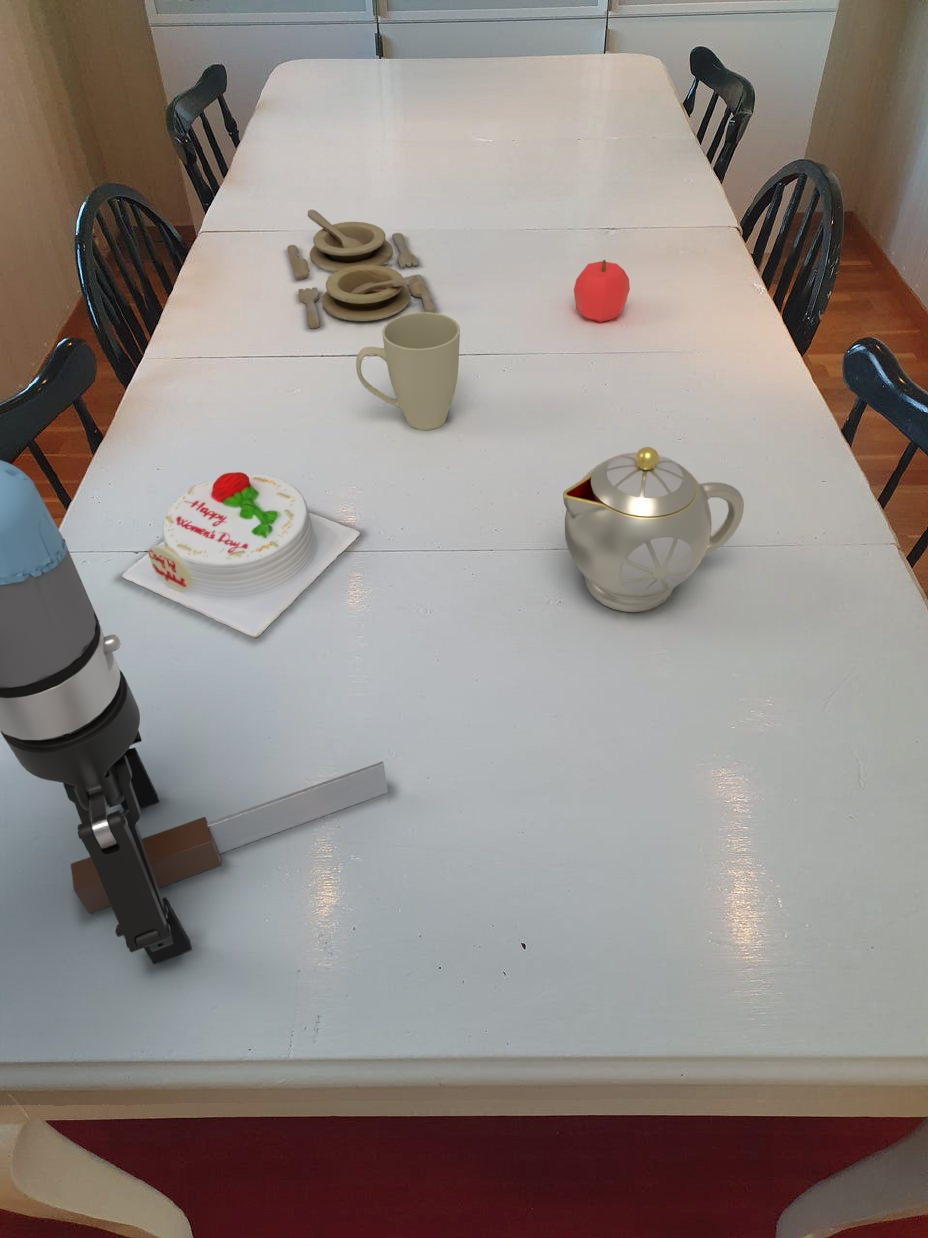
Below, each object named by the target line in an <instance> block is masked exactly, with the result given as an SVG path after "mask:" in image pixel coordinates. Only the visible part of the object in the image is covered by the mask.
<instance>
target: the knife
mask: <svg viewBox="0 0 928 1238" xmlns="http://www.w3.org/2000/svg"><path fill="white" fill-rule="evenodd" d="M388 793H389V789H388V783H387V777H386V769H385V763H384V761H383V760H382V761H379V762H377V763H374V764H371V765H368V766H365V767H362V768H360V769H357V770H355V771H352V772H348V773H345V774H343V775H340V776H338V777H334V778H332V779H329V780H325V781H323V782H320V783H317V784H314V785H312V786H309V787H306V788H303V789H300V790H298V791H295V792H292V793H289V794H286V795H284V796H280V797H278V798H275V799H272V800H269V801H267V802H263V803H261V804H258V805H255V806H252V807H249V808H247V809H244V810H241V811H239V812H235V813H233V814H230V815H227V816H225V817H221V818H219V819H215V820H213V821H210V822H209V821H208V819H207V817H206V816H202V817H200V818H197V819H194V820H191V821H188V822H185V823H183V824H180V825H177V826H174V827H171V828H169V829H166V830H163V831H160V832H157V833H154V834H151V835H148V836H146V837H143V838H142V841H143V844H144V846H145V849H146V852H147V855H148V858H149V861H150V864H151V867H152V870H153V873H154V876H155V878H156V881H157V884H158V887H159V889H160V888H163V887H167V886H169V885H171V884H173V883H176V882H180V881H182V880H185V879H188V878H190V877H194V876H196V875H198V874H201V873H205V872H206V871H210V870H212V869H215V868H217V867H220V866H222V860H221V857H220V855H221V854H223V853H226V852H229V851H231V850H234V849H237V848H241V847H242V846H246V845H247V844H250V843H253V842H256V841H258V840H259V841H260V840H263V839H264V838H267V837H269V836H273V835H276V834H279V833H281V832H283V831H286V830H289V829H292V828H295V827H298V826H300V825H303V824H306V823H308V822H311V821H313V820H317V819H319V818H322V817H324V816H328V815H330V814H333V813H336V812H339V811H341V810H344V809H347V808H350V807H352V806H355V805H358V804H361V803H364V802H367V801H369V800H371V799H374V798H377V797H380V796H383V795H385V794H388ZM70 872H71V873H70V874H71V879H72V880H71V881H72V888H73V892H74V893H75V895H76V896H77V898H78V899H79V901H80V902H81V905H83V907H84V908H85V910H86V912H87V913H88V914H93V913H95V912H99V911H100V910H103V909H106V908H108V907H112V906H111V904H110V901H109V899H108V897H107V894H106V892H105V889H104V887H103V885H102V882H101V880H100V877H99V875H98V872H97V870H96V868H95V865H94V863H93V860H92V858H91V856H89V857H86V858H83V859H80V860H78V861H75V862H72V863H70Z"/></svg>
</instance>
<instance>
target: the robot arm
mask: <svg viewBox="0 0 928 1238" xmlns="http://www.w3.org/2000/svg"><path fill="white" fill-rule="evenodd" d="M80 576H81V575H80V574H79V572H78V570H77V567H76V565H75V562H74V560H73V557H72V555H71V553H70V551H69V548H68V545H67V541H66V539H65V538H64V537H63V535H62V533H61V532H60V530H59V528H58V526H57V524H56V522H55V520H54V518H53V517H52V514H51V513H50V511H49V509H48V507H47V505H46V503H45V501H44V499H43V498H42V496H41V494H40V491H39V490H38V488H37V486H36V484H35V482H34V481H33V480H32V479H31V478H30V477H29V476H28V475H27V474H26V473H25V472H24V471H23V470H21V469H20V468H18V467H17V466H16V465H13V464H12V463H10V462H7V461H4V460H1V459H0V734H1V735H2V738H3V739H4V740H5V742H6V743H7V745H8V747H9V749H10V750H11V752H12V753H13V755H14V756H15V757H16V759H17V761H18V762H19V764H20V765H21V766H22V768H24V770H25V771H27V772H28V773H29V774H31V775H33V776H34V777H37V778H39V779H41V780H45V781H50V782H57V783H62V784H63V787H64V790H65V793H66V796H67V798H68V800H69V801H70V802H71V803H73V804H74V806H75V808H76V813H77V814H78V817H79V820H80V823H79V824H78V825H77V836H78V838H79V840H81V842H82V843H83V844H82V845H84V847H85V849H86V851H87V853H88V855H89V857H91V858H92V860H93V863H94V865H95V868H96V870H97V872H98V875H99V877H100V880H101V882H102V885H103V887H104V889H105V892H106V894H107V897H108V899H109V901H110V904H111V906H110V907H111V908H112V911H113V914H114V915H115V916H114V917H115V918H116V920H117V923H118V924H116V925H115V926H116V927H115V935H116V936H117V938H121V937H124V940H125V944H126V948H127V949H128V951H129V952H130V953H135V952H137V951H140V950H144V952H145V953H146V955H147V956H148V958H149V959H150V961H151V962H152V965H156V964H159V963H161V962H164V961H166V960H168V959H171V958H174V957H176V956H179V955H181V954H184V953H187V952H189V951H191V950H193V948H192V944H191V940H190V938H189V936H188V934H187V932H186V931H185V929H184V927H183V925H182V924H181V921H180V920H179V918H178V916H177V914H176V913H175V910H174V909H173V907H172V905H171V903H170V901H169V899H168V897H167V896H165V897H163V896H162V893H161V889H160V888H159V887H158V884H157V881H156V878H155V876H154V873H153V870H152V867H151V864H150V861H149V858H148V855H147V852H146V849H145V846H144V844H143V841H142V839H143V838H142V836H141V832H140V829H139V825H138V822H139V820H140V818H141V813H142V811H141V809H143V808H146V807H149V806H151V805H154V804H157V803H159V802H160V799H159V795H158V792H157V790H156V788H155V786H154V784H153V782H152V780H151V778H150V775H149V773H148V771H147V769H146V767H145V765H144V763H143V761H142V759H141V757H140V755H139V753H138V751H137V749H136V747H135V746H134V747H131V746H133V745H135V744H138V743H141V742H142V741H143V740H142V737H141V736H142V735H141V733H140V730H139V729H140V723H141V713H140V708H139V705H138V704H137V700H136V699H135V696H134V695H133V692H132V691H131V688H130V685H129V683H128V681H127V679H126V677H125V675H124V673H123V672H122V670H121V669H120V666H119V664H118V662H117V659H116V656H115V655H114V652H116V651H117V650H119V649H120V648H121V644H122V643H121V640H120V638H119V636H117V635H116V634H114V633H113V634H108V635H106V636H104V631H103V628H102V626H101V624H100V620H99V618H98V616H97V613H96V612H95V611H96V610H95V609H94V606H93V604H92V601H91V599H90V597H89V595H88V593H87V591H86V588H85V585H84V583H83V581H82V579H81V577H80ZM119 805H120V806H121V808H122V810H123V811H121V810H120V809H119V810H116V811H113V812H112V811H111V808H114V807H116V806H119Z"/></svg>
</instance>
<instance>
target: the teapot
mask: <svg viewBox="0 0 928 1238" xmlns="http://www.w3.org/2000/svg"><path fill="white" fill-rule="evenodd" d="M711 498H719V499H721V500H723V501H725V503H726V504H727V508H728V510H727V514H726V517H725V518H724V521H723V522H722V524H721V525H720V527H719V528H717V530H715V531H714V533H712V512H711V507H710V503H709V499H711ZM562 499H563V504H564V506H565V508H566V510H565V516H564V536H565V543H566V546H567V550H568V552H569V554H570V557H571V560H572V561H573V563H574V564H575V566H576V568H577V569H578V570H579V571H580V573H582V575H583V576H584V582H585V586H586V588H587V590H588V592H589V593H590V594H591V596H592V597H593V598H594V599H595V600H596V601H598V602H599V603H600V604H602V605H604V606H605V607H608V608H609V609H612V610H616V611H621V612H626V613H640V612H646V611H650V610H653V609H655V608H657V607H659V606H660V605H662V604H663V603H664V602H666V601H667V600H668V599H669V597H670V596H671V595H672V592H673V590H674V588H676V587H677V586H679V585H680V584H682V583H683V582H684V581H685V580H687V579H688V578H689V577H690V576H691V575H692V574H693V573H694V572H695V570H697V568H698V566H699V565H700V564H701V562H702V560H703V559H704V557H705V556H707V555H710V554H712V553H713V552H715V551H717V550H718V549H720V548H721V547H723V546H724V545H725V544H726V543H727V542H728V541H729V540H730V539H731V538H732V537H733V536H734V534H735V533H736V532H737V530H738V528H739V526H740V524H741V523H742V519H743V515H744V510H745V504H744V503H745V502H744V497H743V495H742V494H741V492H740V491H739V490H738V489H737V487H735V486H733V485H730V484H727V483H724V482H720V481H719V482H718V481H708V482H702V483H700V482H699V481H698V480H697V478H696V477H695V476H694V475H693V474H692V473H691V472H690V471H689V470H688V469H687V468H685V467H684V466H683V465H681V464H680V463H678V462H677V461H675V460H673V459H671V458H669V457H666V456H664V455H660V454H659V453H658V452H657V450H656V449H655V448H653V447H651V446H644V447H641V448H640V449H639V450H637V452H627V453H623V454H619V455H615V456H613V457H610V458H608V459H606V460H604V461H601V462H600V463H599V464H597V465H596V466H594V467H593V468H592V469H591V470H589V471H588V472H587V473H586V474H585V475H584V476H583V478H582V479H580V480H579V481H578V482H576V483H575V484H573V485H572V486H571V485H570V487H568V488H566V489H565V490H564V491H563V492H562Z"/></svg>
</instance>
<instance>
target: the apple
mask: <svg viewBox="0 0 928 1238" xmlns="http://www.w3.org/2000/svg"><path fill="white" fill-rule="evenodd" d="M630 290H631V286H630V278H629V276H628V275H627V273H626V271H625V269H623V268H622V267H621V266H620V265H619V264H618V263H615V262H610V261H606V259H603V260H601V261H595V262H590V263H587V264H586V266H585V267H584V268H583V270H582V271H581V272H580V273H579V275H578V276H577V278H576V280H575V283H574V286H573V295H574V302H575V303H574V304H575V309H576V310H577V311H578V312H579V313H580V314H581V315H582V316H583V317H584V318H586V319H588V320H590V321H593V322H598V323H604V322H607V321H610V320H613V319H615V318H618V317H619V316H620V315H621V313H622V312H623V310H624V309H625V305H626V302H627V299H628V297H629V293H630Z"/></svg>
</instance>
